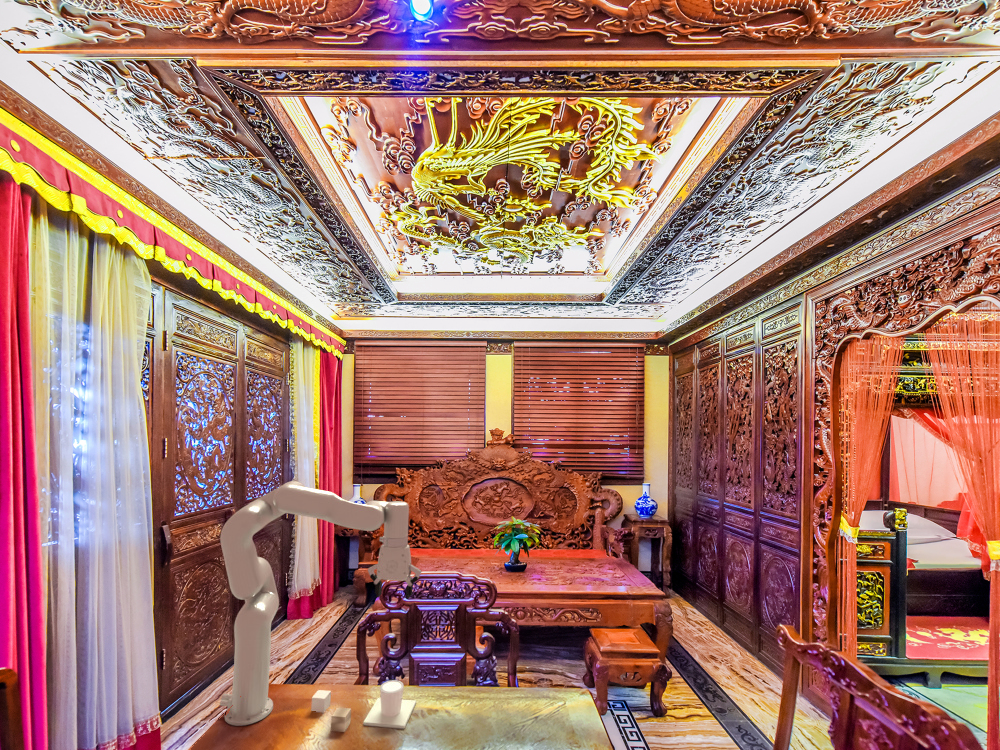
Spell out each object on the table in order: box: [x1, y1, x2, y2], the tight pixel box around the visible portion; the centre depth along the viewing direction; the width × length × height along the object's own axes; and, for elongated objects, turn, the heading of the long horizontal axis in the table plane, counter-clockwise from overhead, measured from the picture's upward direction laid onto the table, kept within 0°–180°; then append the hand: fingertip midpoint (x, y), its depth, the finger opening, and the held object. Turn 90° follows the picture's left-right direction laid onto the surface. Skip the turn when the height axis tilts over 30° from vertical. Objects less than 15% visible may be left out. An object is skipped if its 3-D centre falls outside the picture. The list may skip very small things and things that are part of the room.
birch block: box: [330, 706, 352, 733], centre depth 135 cm, size 4×4×4 cm
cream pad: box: [362, 697, 417, 730], centre depth 141 cm, size 12×12×1 cm
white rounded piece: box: [379, 679, 405, 717], centre depth 141 cm, size 7×7×7 cm
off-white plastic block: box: [310, 689, 332, 714], centre depth 143 cm, size 4×4×4 cm
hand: (393, 596), depth 152 cm, fingers open, 9 cm apart
